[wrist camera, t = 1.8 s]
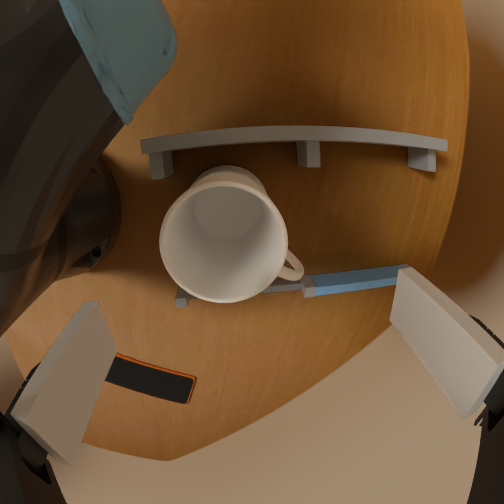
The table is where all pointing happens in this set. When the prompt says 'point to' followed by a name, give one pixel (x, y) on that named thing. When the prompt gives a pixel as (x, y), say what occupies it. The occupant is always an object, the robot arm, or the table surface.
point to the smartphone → (150, 379)
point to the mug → (226, 238)
